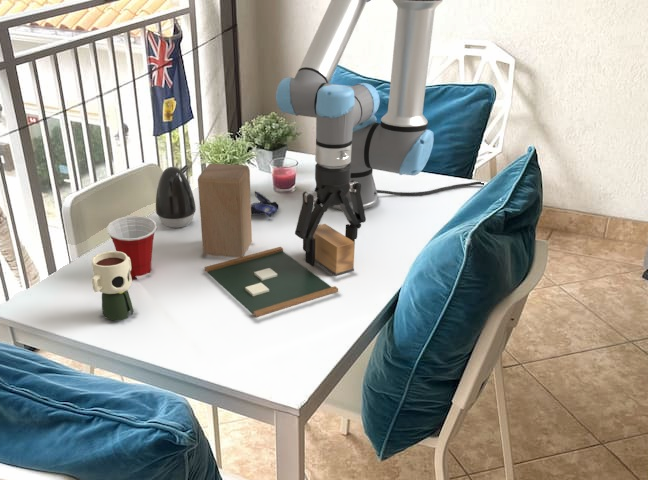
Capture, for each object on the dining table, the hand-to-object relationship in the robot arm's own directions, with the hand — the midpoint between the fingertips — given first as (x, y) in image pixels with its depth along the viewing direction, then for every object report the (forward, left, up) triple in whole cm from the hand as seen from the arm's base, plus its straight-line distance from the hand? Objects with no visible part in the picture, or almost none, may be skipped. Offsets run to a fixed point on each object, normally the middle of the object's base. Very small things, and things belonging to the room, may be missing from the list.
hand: (329, 257), depth 159 cm
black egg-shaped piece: (+20, -41, -2) cm, 46 cm away
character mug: (+49, -5, -2) cm, 49 cm away
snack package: (-1, -36, -2) cm, 36 cm away
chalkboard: (+16, 0, -2) cm, 16 cm away
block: (+16, -20, -2) cm, 26 cm away
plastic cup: (+39, -20, -2) cm, 44 cm away
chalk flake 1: (+15, -3, -1) cm, 16 cm away
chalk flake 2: (+20, +2, -1) cm, 21 cm away
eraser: (0, 0, -2) cm, 2 cm away
